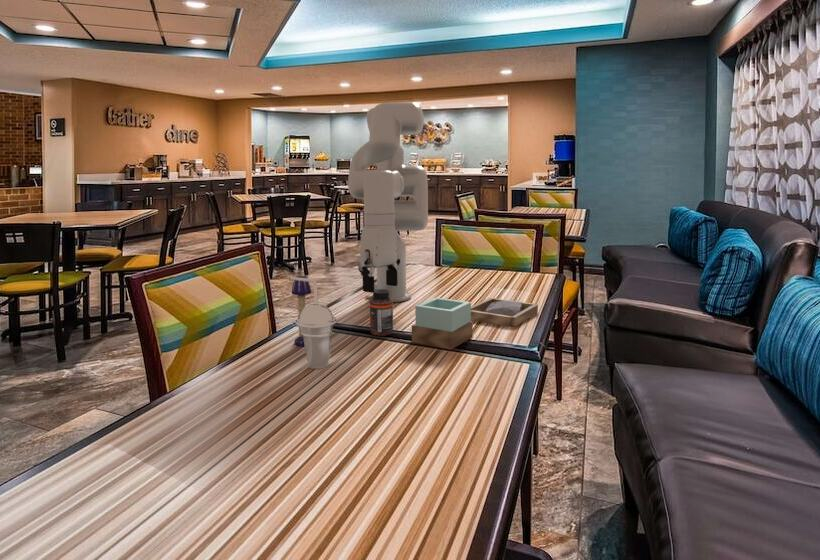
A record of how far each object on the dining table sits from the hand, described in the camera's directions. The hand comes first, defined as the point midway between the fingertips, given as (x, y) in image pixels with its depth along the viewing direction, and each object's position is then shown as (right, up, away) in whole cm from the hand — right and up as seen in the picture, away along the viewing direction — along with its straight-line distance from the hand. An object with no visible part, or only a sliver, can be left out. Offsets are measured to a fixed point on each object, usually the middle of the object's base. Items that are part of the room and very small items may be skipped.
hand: (380, 288), depth 138 cm
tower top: (+16, -9, -3) cm, 18 cm away
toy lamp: (-19, -14, -5) cm, 23 cm away
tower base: (+15, -13, -2) cm, 20 cm away
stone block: (+34, -9, +19) cm, 40 cm away
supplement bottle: (0, -12, +3) cm, 12 cm away
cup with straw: (-13, -17, -19) cm, 28 cm away
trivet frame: (+34, -8, +19) cm, 39 cm away
